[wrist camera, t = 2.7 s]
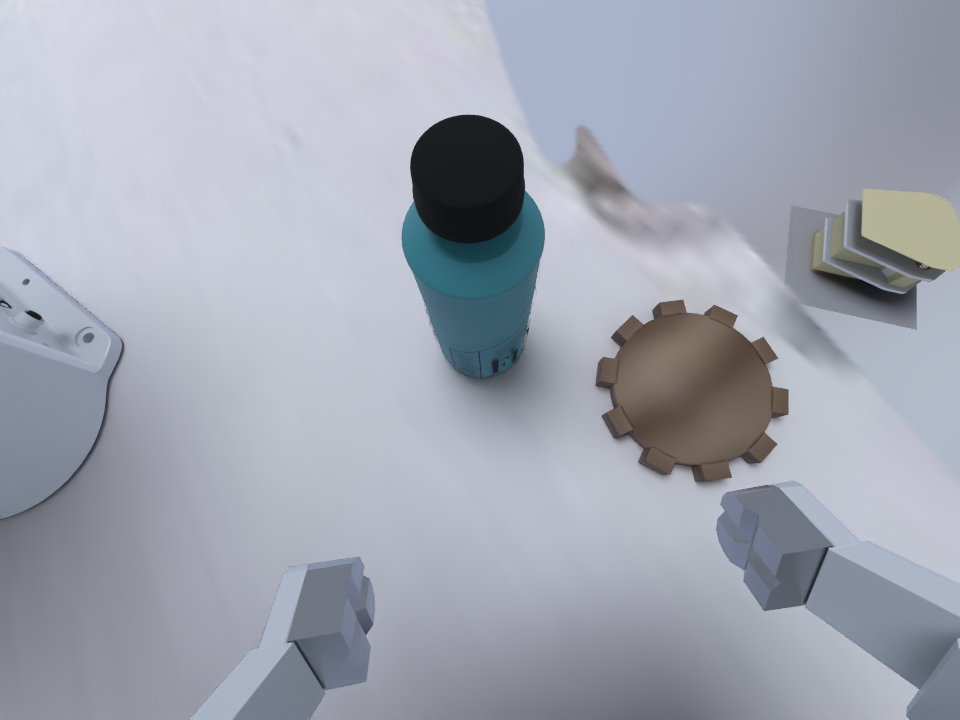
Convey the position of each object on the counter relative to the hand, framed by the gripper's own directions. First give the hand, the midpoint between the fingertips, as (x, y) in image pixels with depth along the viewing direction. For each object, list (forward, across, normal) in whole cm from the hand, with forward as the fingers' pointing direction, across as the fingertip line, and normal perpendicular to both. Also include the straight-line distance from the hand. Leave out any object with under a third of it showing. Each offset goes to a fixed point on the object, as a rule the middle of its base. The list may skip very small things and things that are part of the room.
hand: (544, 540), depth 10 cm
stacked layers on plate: (+25, -31, +6) cm, 40 cm away
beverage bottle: (+24, 0, +7) cm, 25 cm away
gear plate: (+19, -14, +11) cm, 26 cm away
